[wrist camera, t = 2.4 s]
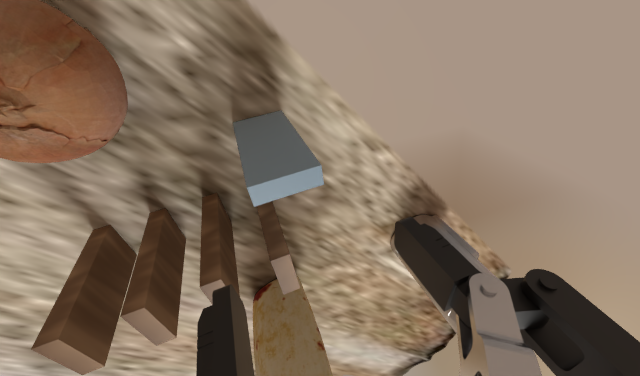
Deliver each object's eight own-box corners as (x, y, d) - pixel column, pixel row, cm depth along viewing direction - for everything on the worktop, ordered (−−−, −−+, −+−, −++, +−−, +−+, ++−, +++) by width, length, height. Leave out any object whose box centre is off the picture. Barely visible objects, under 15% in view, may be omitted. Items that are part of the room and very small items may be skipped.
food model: (285, 261, 39) (335, 426, 24) (308, 277, 43) (364, 426, 28) (236, 298, 40) (254, 480, 24) (263, 310, 44) (294, 472, 29)
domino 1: (110, 224, 27) (58, 339, 17) (136, 255, 30) (104, 366, 20) (93, 230, 26) (31, 349, 17) (121, 260, 29) (82, 375, 20)
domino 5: (264, 178, 30) (289, 254, 21) (274, 209, 33) (300, 288, 24) (250, 182, 30) (270, 261, 20) (262, 213, 33) (283, 294, 23)
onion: (-69, 58, 17) (-307, 101, 9) (22, -50, 16) (-160, -107, 8) (93, 151, 23) (34, 225, 15) (167, 77, 22) (144, 116, 14)
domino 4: (232, 122, 25) (246, 187, 16) (281, 110, 26) (321, 165, 17) (237, 137, 26) (254, 206, 17) (284, 124, 27) (323, 184, 18)
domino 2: (165, 208, 28) (144, 307, 19) (185, 239, 31) (176, 337, 22) (149, 212, 28) (120, 316, 18) (171, 243, 31) (156, 345, 21)
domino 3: (216, 192, 29) (221, 279, 20) (231, 223, 32) (241, 311, 23) (202, 197, 29) (199, 287, 19) (218, 228, 32) (223, 318, 22)
